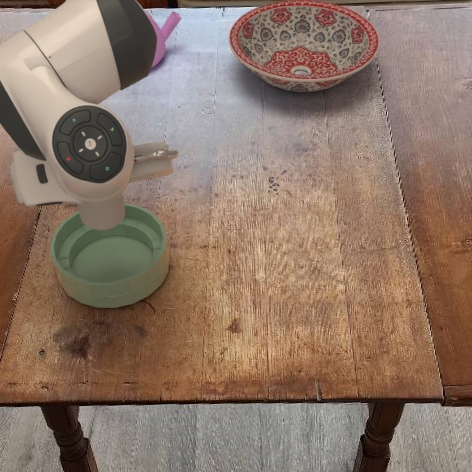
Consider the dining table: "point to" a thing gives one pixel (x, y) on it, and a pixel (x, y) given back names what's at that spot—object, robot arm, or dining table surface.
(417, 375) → the dining table surface
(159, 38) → the teapot
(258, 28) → the ceramic bowl
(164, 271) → the green bowl
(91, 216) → the beverage can
